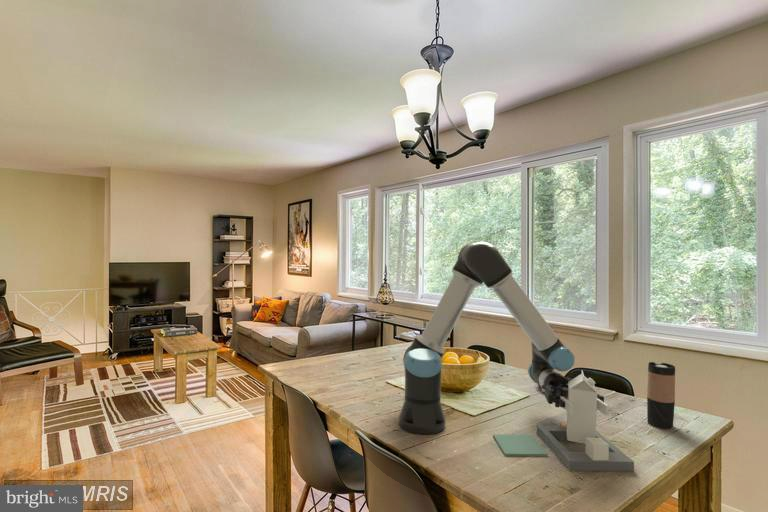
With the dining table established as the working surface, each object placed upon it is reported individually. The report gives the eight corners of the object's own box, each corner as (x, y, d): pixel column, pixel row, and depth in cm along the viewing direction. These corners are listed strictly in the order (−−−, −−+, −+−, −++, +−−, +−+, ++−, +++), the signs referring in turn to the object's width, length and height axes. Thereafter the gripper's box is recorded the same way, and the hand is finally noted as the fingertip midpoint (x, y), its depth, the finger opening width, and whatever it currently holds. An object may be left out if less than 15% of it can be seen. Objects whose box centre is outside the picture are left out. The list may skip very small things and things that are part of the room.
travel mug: (665, 431, 132) (667, 369, 132) (641, 422, 139) (643, 363, 138) (678, 426, 135) (680, 366, 135) (654, 418, 142) (656, 360, 142)
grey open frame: (569, 470, 107) (569, 445, 107) (536, 433, 129) (537, 411, 129) (633, 471, 107) (634, 445, 107) (590, 433, 129) (590, 412, 129)
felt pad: (505, 455, 114) (505, 453, 114) (492, 436, 126) (493, 434, 126) (547, 456, 114) (547, 454, 114) (531, 436, 126) (531, 434, 126)
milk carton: (567, 441, 116) (569, 374, 116) (566, 431, 123) (568, 368, 123) (595, 446, 114) (598, 378, 113) (592, 436, 120) (595, 371, 120)
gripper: (586, 395, 136) (628, 424, 114) (521, 394, 136) (550, 422, 114) (587, 373, 136) (629, 397, 114) (522, 371, 136) (551, 395, 114)
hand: (589, 410), depth 114 cm, fingers closed on milk carton, 9 cm apart
